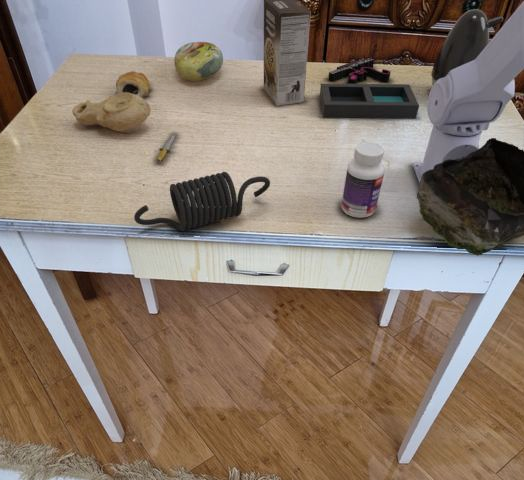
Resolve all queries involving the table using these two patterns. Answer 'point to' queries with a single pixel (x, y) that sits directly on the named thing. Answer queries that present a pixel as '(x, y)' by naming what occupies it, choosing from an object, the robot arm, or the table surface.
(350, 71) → the logo
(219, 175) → the coil
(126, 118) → the oil lamp
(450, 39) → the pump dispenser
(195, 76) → the cell model
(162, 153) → the dagger
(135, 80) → the pastry
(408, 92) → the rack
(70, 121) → the table surface
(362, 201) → the pill bottle
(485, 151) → the rock
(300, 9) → the coffee box
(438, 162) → the robot arm
